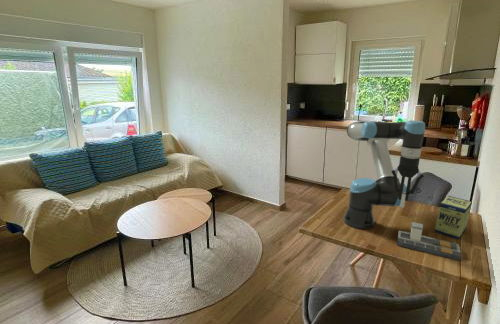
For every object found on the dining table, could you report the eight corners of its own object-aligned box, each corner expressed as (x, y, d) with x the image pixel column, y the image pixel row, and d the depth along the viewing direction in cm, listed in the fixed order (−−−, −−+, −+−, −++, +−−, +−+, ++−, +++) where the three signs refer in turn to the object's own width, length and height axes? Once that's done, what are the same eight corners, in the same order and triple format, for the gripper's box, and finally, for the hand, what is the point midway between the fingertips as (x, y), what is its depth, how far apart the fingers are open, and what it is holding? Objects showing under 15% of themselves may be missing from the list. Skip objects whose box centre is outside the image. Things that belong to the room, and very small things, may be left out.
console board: (396, 245, 134) (397, 239, 134) (398, 233, 144) (398, 228, 144) (460, 260, 123) (461, 254, 123) (456, 247, 134) (457, 241, 133)
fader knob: (409, 239, 135) (412, 226, 133) (409, 235, 139) (412, 222, 137) (420, 242, 133) (422, 228, 131) (420, 237, 137) (422, 224, 135)
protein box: (434, 232, 147) (439, 203, 143) (442, 222, 157) (448, 195, 153) (458, 240, 140) (465, 210, 135) (465, 229, 150) (472, 200, 146)
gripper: (393, 156, 128) (385, 206, 135) (427, 160, 123) (418, 212, 129) (394, 153, 135) (386, 200, 141) (426, 156, 129) (417, 206, 135)
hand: (401, 206), depth 135 cm, fingers closed
